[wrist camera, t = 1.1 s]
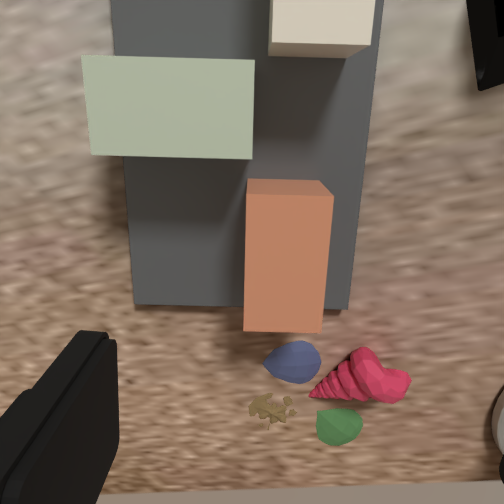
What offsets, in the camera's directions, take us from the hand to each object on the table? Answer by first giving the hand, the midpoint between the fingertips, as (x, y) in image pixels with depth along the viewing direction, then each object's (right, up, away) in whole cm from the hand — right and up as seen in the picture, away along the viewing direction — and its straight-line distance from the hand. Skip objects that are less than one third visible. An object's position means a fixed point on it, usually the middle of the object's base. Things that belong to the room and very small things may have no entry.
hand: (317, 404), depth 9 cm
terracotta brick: (0, +4, +18) cm, 18 cm away
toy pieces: (+4, -7, +23) cm, 25 cm away
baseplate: (-2, +12, +16) cm, 20 cm away
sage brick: (-5, +12, +15) cm, 20 cm away
